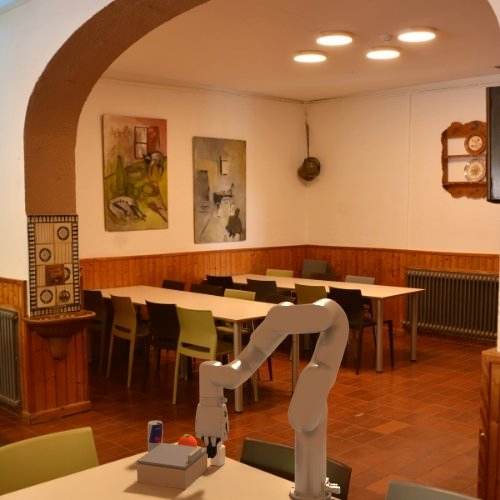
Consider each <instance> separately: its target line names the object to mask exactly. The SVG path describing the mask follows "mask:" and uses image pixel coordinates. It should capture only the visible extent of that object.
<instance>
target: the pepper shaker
mask: <svg viewBox="0 0 500 500" xmlns="http://www.w3.org/2000/svg"><path fill="white" fill-rule="evenodd" d="M225 463H226V446H225V445H224V444H223V441H220V442H219V443H218V444H217V455H216V456H215V457H214V458H213V459H211V458H210V465H212V466H217V467H222V465H224V464H225Z"/></svg>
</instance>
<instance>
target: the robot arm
mask: <svg viewBox="0 0 500 500" xmlns="http://www.w3.org/2000/svg"><path fill="white" fill-rule="evenodd" d="M349 325H350V324H349V320H348V316H347V314H346V312H345V311H344V309H343V308H342V307H341V305H340V304H339V303H338V302H336V300H333V299H331V298H321V299H318V300H316V301H314V302H312V303H303V304H294V303H293V302H291V301H290V302H289V301H282V302H279V303H277V304H276V305H275V304H274V305H273V306H272V307H270V308H269V310H268V311H267V313H266V316H265V318H264V319H263V321H262V322H261V323H260V324H259V325H258V326H257V327H256V329H254V331H253V332H252V333H251V334H250V337H249V342H248V344H247V345H245V347H244V349H243V350H242V351H241V352H240V353H239V354H238V356H236V357H235V359H234V360H232V361H231V362H229V363H227V364H224V365H223V364H222V363H223V362H221V361H217V360H205V361H202V362H201V363H200V364H199V366H198V369H199V373H198V374H199V383H198V384H199V403H198V404H197V407H196V412H195V413H196V414H195V424H194V425H195V426H194V429H195V438H198V439H200V440H201V441H202V442H204V445H205V446H206V448H207V459H210V460H211V459H213V458H214V457H215V456H216V455H217V444H218V443H219V442H220V441H222V442H226V441H227V440H228V439H229V438H228V437H229V436H228V434H229V431H230V426H229V425H230V424H229V415H228V414H229V413H228V408H227V405H226V404H227V402H228V397H225V395H224V389H229V390H234V389H237V388H238V387H240V386H241V385H242V384H243V383H245V382H246V381H248V379H250V378H251V377H252V376H253V374H254V373H255V372H256V371H257V370H258V369H259V368H260V367H261V365H262V364H263V363H264V362H265V361H266V360H267V359H268V358H269V357H270V356H271V355H272V353H273V352H274V351H275V350H276V349H277V348H278V346H279V345H280V344H281V343H283V341H284V340H285V339H286V338H287V336H289V335H297V334H300V335H301V334H315V333H320V334H319V337H318V339H317V341H316V345H315V349H314V351H313V354H312V356H311V359H310V362H309V363H308V364H307V365H306V366H305V367H304V368H303V370H302V371H301V372H300V374H299V376H298V379H297V382H296V385H295V388H294V391H293V394H292V397H291V400H290V403H289V406H288V409H287V419H288V423H289V424H290V426H291V428H292V429H294V484H293V485H291V487H290V488H289V495H290V496H291V497H292V498H293V499H295V500H329V498H331V496H332V493H333V494H336V495H337V494H338V495H339V494H340V493H341V487H340V486H339V484H338V483H331V482H330V481H329V480H330V478H329V477H327V431H328V430H327V427H328V415H329V411H328V406H329V405H328V401H327V400H328V396H329V393H330V391H331V389H332V388H333V387H334V385H335V384H336V380H337V377H338V373H339V369H340V367H341V365H342V363H341V362H342V360H343V356H344V354H345V350H346V347H347V344H348V339H349V333H350V326H349Z"/></svg>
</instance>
